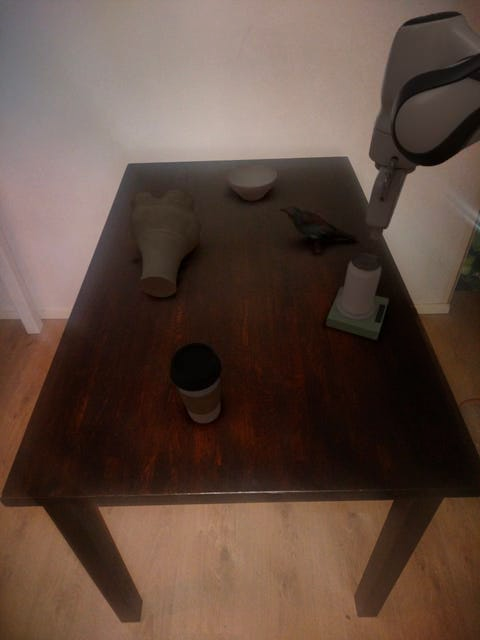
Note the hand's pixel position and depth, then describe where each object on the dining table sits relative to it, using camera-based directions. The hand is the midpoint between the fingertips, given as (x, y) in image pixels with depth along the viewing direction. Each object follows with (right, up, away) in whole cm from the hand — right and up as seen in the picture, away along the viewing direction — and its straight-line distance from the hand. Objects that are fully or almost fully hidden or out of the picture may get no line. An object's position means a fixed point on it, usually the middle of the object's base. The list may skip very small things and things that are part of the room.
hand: (381, 223), depth 69 cm
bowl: (-21, +23, +56) cm, 65 cm away
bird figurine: (-4, +4, +36) cm, 37 cm away
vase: (-45, -5, +31) cm, 55 cm away
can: (0, -14, +15) cm, 21 cm away
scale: (+1, -16, +17) cm, 23 cm away
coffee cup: (-32, -34, +2) cm, 47 cm away
